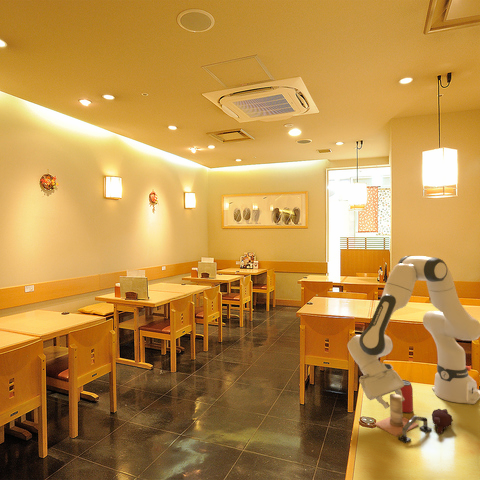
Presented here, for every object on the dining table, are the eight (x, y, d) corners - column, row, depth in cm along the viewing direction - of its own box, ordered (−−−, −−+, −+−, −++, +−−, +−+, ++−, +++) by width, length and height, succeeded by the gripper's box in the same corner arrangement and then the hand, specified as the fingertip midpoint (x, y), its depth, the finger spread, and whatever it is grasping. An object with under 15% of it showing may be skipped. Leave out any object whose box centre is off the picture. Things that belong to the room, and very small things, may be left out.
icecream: (433, 400, 143) (423, 417, 132) (453, 401, 138) (444, 419, 127) (439, 417, 142) (429, 435, 131) (459, 418, 137) (450, 438, 126)
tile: (396, 415, 144) (396, 413, 144) (418, 425, 135) (418, 424, 135) (374, 424, 137) (374, 423, 137) (396, 436, 128) (396, 434, 128)
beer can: (415, 414, 144) (414, 385, 144) (398, 412, 146) (397, 384, 146) (410, 406, 151) (409, 379, 151) (394, 405, 152) (394, 378, 152)
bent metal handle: (424, 426, 134) (423, 408, 134) (431, 430, 132) (431, 411, 132) (398, 439, 126) (397, 420, 126) (405, 443, 124) (405, 423, 124)
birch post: (395, 419, 139) (394, 392, 139) (406, 424, 135) (405, 397, 135) (387, 422, 137) (386, 395, 137) (398, 428, 133) (397, 400, 133)
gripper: (361, 374, 138) (382, 408, 129) (393, 363, 148) (415, 394, 139) (353, 381, 142) (373, 414, 133) (385, 370, 152) (405, 401, 143)
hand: (395, 404), depth 136 cm, fingers open, 8 cm apart
